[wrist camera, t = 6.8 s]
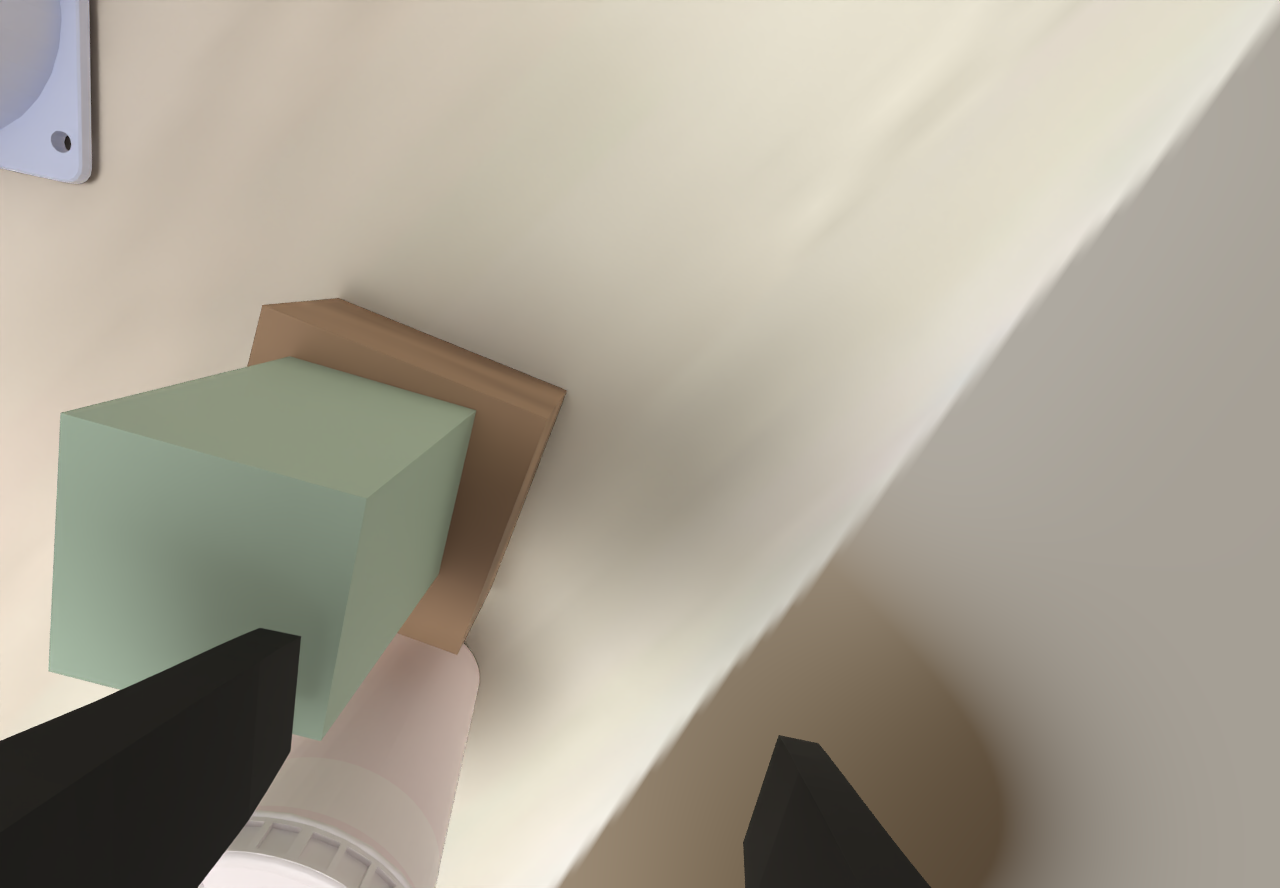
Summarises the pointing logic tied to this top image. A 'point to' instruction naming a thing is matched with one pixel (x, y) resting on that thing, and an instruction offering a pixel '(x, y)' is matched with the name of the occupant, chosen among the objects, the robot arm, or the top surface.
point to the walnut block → (497, 451)
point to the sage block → (251, 524)
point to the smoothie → (366, 784)
